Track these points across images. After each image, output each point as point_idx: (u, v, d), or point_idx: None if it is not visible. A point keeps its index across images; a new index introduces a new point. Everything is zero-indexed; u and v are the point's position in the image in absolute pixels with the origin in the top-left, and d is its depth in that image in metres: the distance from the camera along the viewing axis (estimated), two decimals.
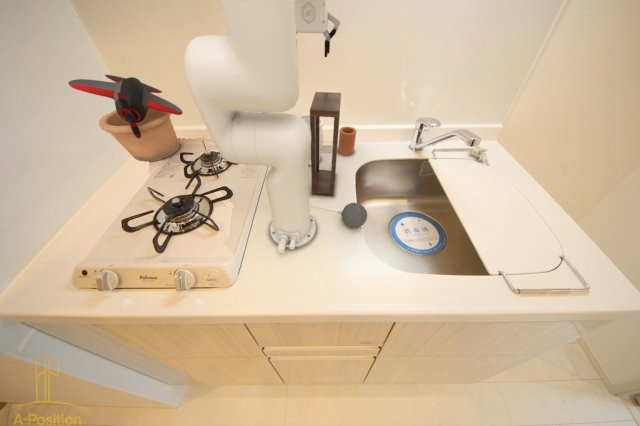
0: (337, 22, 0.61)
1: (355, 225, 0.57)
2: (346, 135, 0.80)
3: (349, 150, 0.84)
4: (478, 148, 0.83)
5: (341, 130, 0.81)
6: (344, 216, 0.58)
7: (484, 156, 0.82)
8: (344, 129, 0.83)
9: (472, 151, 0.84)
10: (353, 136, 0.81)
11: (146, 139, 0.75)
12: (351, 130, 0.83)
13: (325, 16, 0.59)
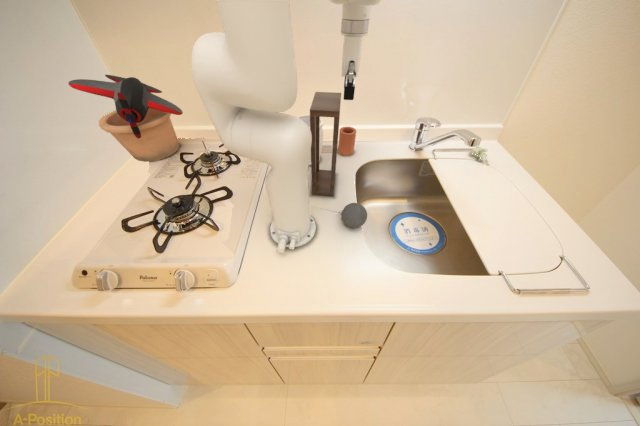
0: (349, 73, 0.61)
1: (355, 225, 0.57)
2: (346, 135, 0.80)
3: (349, 150, 0.84)
4: (478, 148, 0.83)
5: (341, 130, 0.81)
6: (344, 216, 0.58)
7: (484, 156, 0.82)
8: (344, 129, 0.83)
9: (472, 151, 0.84)
10: (353, 136, 0.81)
11: (146, 139, 0.75)
12: (351, 130, 0.83)
13: (343, 64, 0.63)
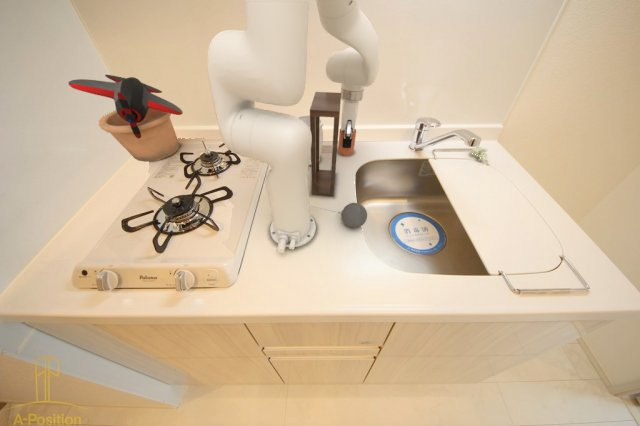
0: None
1: (355, 225, 0.57)
2: None
3: (349, 150, 0.84)
4: (478, 148, 0.83)
5: (341, 130, 0.81)
6: (344, 216, 0.58)
7: (484, 156, 0.82)
8: None
9: (472, 151, 0.84)
10: (353, 136, 0.81)
11: (146, 139, 0.75)
12: None
13: (342, 121, 0.75)
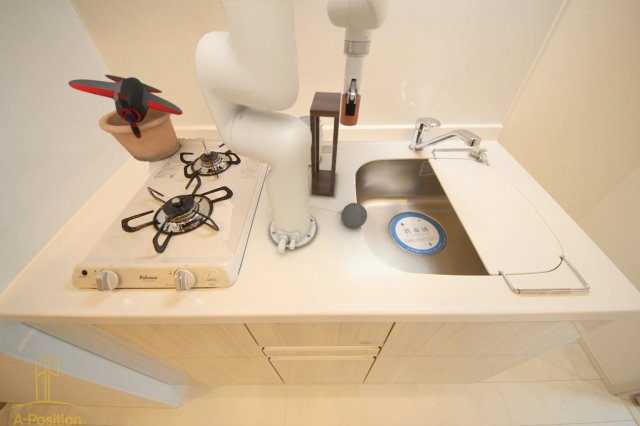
0: (350, 94, 0.65)
1: (355, 225, 0.57)
2: None
3: (352, 119, 0.75)
4: (478, 148, 0.83)
5: (344, 95, 0.72)
6: (344, 216, 0.58)
7: (484, 156, 0.82)
8: (347, 95, 0.73)
9: (472, 151, 0.84)
10: (357, 102, 0.71)
11: (146, 139, 0.75)
12: None
13: (345, 81, 0.65)
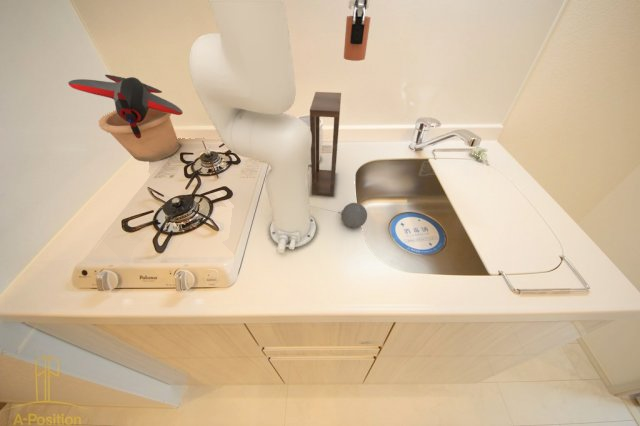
0: (358, 4, 0.50)
1: (355, 225, 0.57)
2: None
3: (360, 50, 0.60)
4: (478, 148, 0.83)
5: (349, 16, 0.57)
6: (344, 216, 0.58)
7: (484, 156, 0.82)
8: None
9: (472, 151, 0.84)
10: (366, 24, 0.56)
11: (146, 139, 0.75)
12: None
13: None
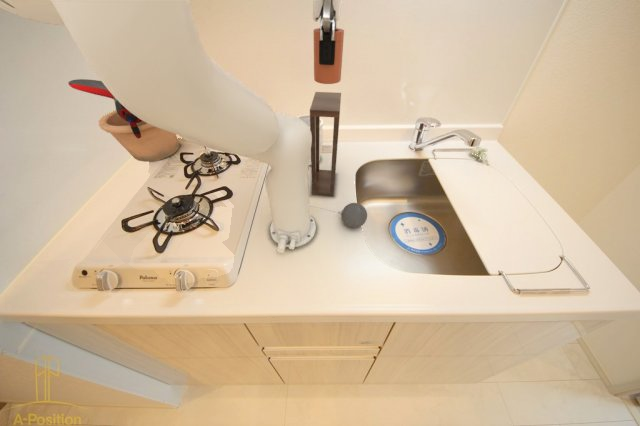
0: (323, 16, 0.37)
1: (355, 225, 0.57)
2: None
3: (332, 72, 0.47)
4: (478, 148, 0.83)
5: (316, 29, 0.44)
6: (344, 216, 0.58)
7: (484, 156, 0.82)
8: None
9: (472, 151, 0.84)
10: (338, 39, 0.43)
11: (146, 139, 0.75)
12: None
13: None
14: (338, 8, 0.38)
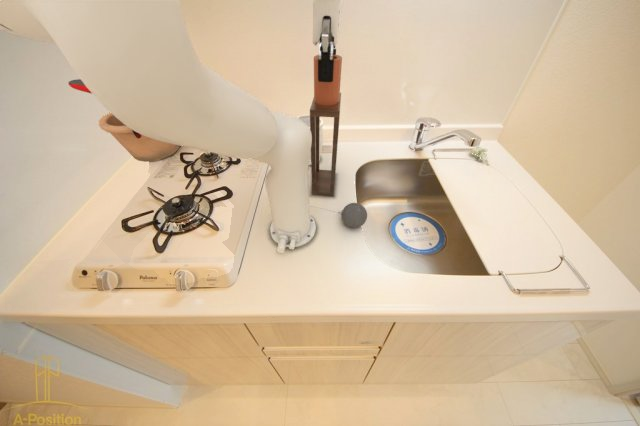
0: (322, 35, 0.39)
1: (355, 225, 0.57)
2: None
3: (331, 95, 0.50)
4: (478, 148, 0.83)
5: (316, 57, 0.47)
6: (344, 216, 0.58)
7: (484, 156, 0.82)
8: None
9: (472, 151, 0.84)
10: (337, 66, 0.47)
11: (146, 139, 0.75)
12: (334, 59, 0.49)
13: (313, 22, 0.40)
14: (336, 34, 0.41)
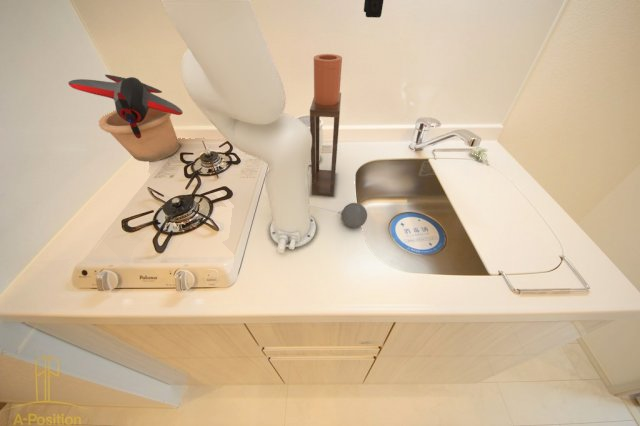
0: None
1: (355, 225, 0.57)
2: (324, 63, 0.46)
3: (331, 95, 0.50)
4: (478, 148, 0.83)
5: (316, 57, 0.47)
6: (344, 216, 0.58)
7: (484, 156, 0.82)
8: (322, 57, 0.49)
9: (472, 151, 0.84)
10: (337, 66, 0.47)
11: (146, 139, 0.75)
12: (334, 59, 0.49)
13: None
14: None
